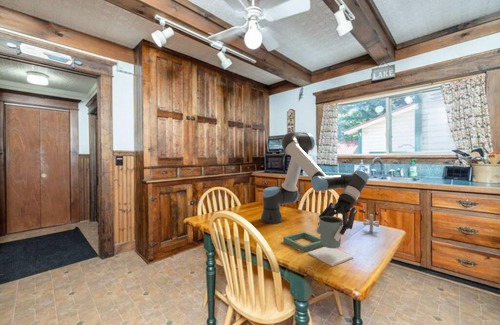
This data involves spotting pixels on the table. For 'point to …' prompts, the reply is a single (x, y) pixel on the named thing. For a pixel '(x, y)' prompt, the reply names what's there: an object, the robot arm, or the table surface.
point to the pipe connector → (371, 222)
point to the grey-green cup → (329, 231)
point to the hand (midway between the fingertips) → (326, 235)
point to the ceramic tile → (330, 255)
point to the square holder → (298, 246)
